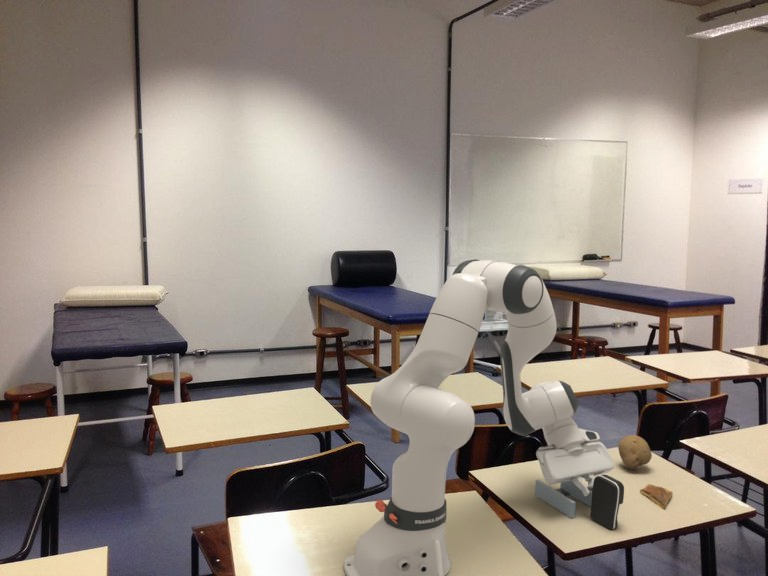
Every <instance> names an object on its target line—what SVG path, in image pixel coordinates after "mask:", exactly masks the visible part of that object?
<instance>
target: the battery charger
mask: <svg viewBox="0 0 768 576" xmlns="http://www.w3.org/2000/svg"><path fill="white" fill-rule="evenodd" d="M594 477H595V479H594V482H593V489H592V501H591V507H590V513H589V514H590V515H589V518H590V519H592V520H594V522H597V523H599V524H600V525H602V526H604V527H605V528H608V529H609V530H615V529H616V528H618V527H619V523H618V515H619V510H620V509H619V508H620V505H622V504H623V503H624V497H625V496H624V495H625V486H624V483H623V482H622V481H620V480H618V479H617V478H615V477H613V476H609V475H607V474H600V475H595V476H594Z"/></svg>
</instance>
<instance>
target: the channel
mask: <svg viewBox="0 0 768 576" xmlns="http://www.w3.org/2000/svg"><path fill="white" fill-rule="evenodd" d="M534 485H535V486H534V487H535V488H534V496H536V497H538V498H539V499H540V498H541V500H542V501H544V502H545V501H546V502H545V503H547V504H548V503H549V505H550V506H551V505H552V506H551V507H552V508H554V507H555V508H554V509H556V508H557V509H556V510H557V511H559V510H560V513H562V512H563V513H562V514H563V515H565V514H566V515H565V516H567V515H568V516H569V517H568V516H567V517H568V518H570V517H571V518H570V519H575V518H576V503H577V502H576V501H574V500H573V499H571V498H570V497H568V496H571V497H573V498H574V497H575V498H574V499H576V498H577V499H576V500H578V501H579V500H580V501H579V502H581V501H582V502H581V503H583V504H584V503H585V505H586V504H587V505H586V506H587V507H589V506H590V508H591V501H592V495H589V496H584V494H583V492H582V490H580V489H579V488H578V487H577V486H576V485H575V484H574V482H573V480H571V481H567V482H562V483H560V487H558V488H553V487H551V485H549V484H547V483H546V482H545V483H544V481H541V480H539V479H536V480H535V484H534ZM567 495H568V496H567Z"/></svg>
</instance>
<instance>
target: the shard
mask: <svg viewBox="0 0 768 576" xmlns="http://www.w3.org/2000/svg"><path fill="white" fill-rule="evenodd" d="M639 493H640V494H642V495H644V496H645V497H647V498H648V499H649V500H650V501H651V502H653V503H654V504H655V505H657V506H658V507H660V508H661V509H663V510H665V508H666V507H667V503H668V502H669V501H670V498H671V497H672V496H673V491H672V490H669V489H668V488H665V487H662V486H658V485H653V484H651V483H650V484H649V483H647V484H646V485H645V486H644V487H643V488H642V489H639Z"/></svg>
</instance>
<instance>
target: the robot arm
mask: <svg viewBox="0 0 768 576" xmlns="http://www.w3.org/2000/svg"><path fill="white" fill-rule="evenodd" d="M434 300H435V301H434V302H433V304H432V306H431V309H430V311H429V313H428V317H427V319H426V321H425V324H424V326H423V329H422V331H421V333H420V336H419V337H418V340H417V343H416V345H415V347H414V348H413V350H412V352H411V353H410V354H409V356H408V357H407V358H406V360H405V361H404V362H403V363H402V365H401V366H400V367H399V368H398V369H396V371H394V372H393V373H392V374H391V375H388V376H385V378H382V379H381V380H379V381H378V382H377V383H376V385H375V386H374V388H373V389H372V393H371V394H370V408H371V411H372V413H373V415H375V417H376V418H377V419H379V420H380V421H381V422H382V423H384V424H385V425H386V426H388V427H389V428H391V429H393V430H396V431H398V432H400V433H403V434H406V435H407V436H408V440H409V445H408V449H407V452H404V453H402V454H401V455H399V456H398V457H397V458H396V459H395V461H394V463H393V464H392V480H391V481H392V482H391V496H390V498H389V501H388V503H385V502H384V501H383V500H382V499H377V500H376V501H375V502H374V503H375V504H374V506H375V508H376V510H378V512H380V513H383V516H382V517H381V518H380V519H379V520H378V521H377V522H375V523H374V524H373V525H372V526H371V527H370V528H369V529H367V530H366V531H365V532H364V533H363V534H361V535H360V536H359V538H358V539H357V542H356V546H355V551H354V553H353V554H350V555H348V556H347V557H345V559H344V563H343V571H344V574H345V575H346V576H446V575H447V574H448V573H449V571H450V569H451V561H450V557H449V553H448V547H447V540H446V528H445V527H446V526H445V525H446V520H447V500H446V497H445V496H446V477H447V471H448V465H449V462H450V459H451V457H452V456H453V454H454V452H455V451H456V450H457V449H460V448H461V447H463V446H464V445H465V444H467V442H469V440H470V439H471V437H472V435H473V433H474V430H475V427H476V426H475V424H476V418H475V417H476V416H475V412H474V409H473V408H472V406H471V404H470V403H468V402H466V401H465V400H463V399H462V398H461V397H459V396H458V395H456V394H454V393H453V392H451V391H450V392H449V391H446V390H444V389H440V386H441V385H442V383H444V381H446V379H447V378H448V377H450V376H451V375H453V374H455V373H459V372H460V371H462V370H464V368H465V367H466V366H467V364H468V361H469V358H470V357H471V354H472V350H473V348H474V346H475V343H476V340H477V338H478V336H479V332H480V329H481V327H482V322H483V321H484V320H483V319H484V316H485V312H486V311H491V312H498V313H505V317H506V320H507V321H506V322H507V334H506V336H505V339H504V340H503V342H502V343H501V344H500V347H499V348H500V350H499V355H500V356H499V358H500V359H499V360H500V361H499V362H500V374H501V383H502V385H501V386H502V394H503V395H502V396H503V400H502V407H503V410H502V411H503V412H502V413H503V418H504V421H505V424H506V425H507V427H508V428H509V431H511V433H514V434H516V435H519V436H522V437H526V436H527V435H530V434H532V433H534V432H536V431H537V430H540V429H542V432H543V437H544V440H545V442H546V444H547V445H546V446H540V447H538V449H537V450H536V452H535V455H536V458H537V460H538V462H539V466H540V469H541V473H542V475H543V478H544V480H545V483H546V484H547V485H548V486H551V485H557V484H561V483H562V482H567V481H571V480H573V482H574V484H575V485H576V486H577V487H578V488H579V489H580V490H582V492H583V494H584V496H589V495H592V489H593V482H594V479H595V477H596V476H599V475H605V474H607V473H609V472H611V471H612V470H613V469H615V462H614V460H613V458H612V455H611V454H610V452H609V450H608V449H607V447H606V445H605V444H604V443H603V442H601V441H599V440H600V439H601V437H600V434H599V433H598V432H596V431H593V430H588V429H583V428H579V427H578V424H577V423H576V422H575V421H574V419H573V418H572V417H574V416H575V415H576V412H577V410H578V409H579V406H580V403H579V400H578V397H577V396H576V395H575V392H574V390H573V388H572V387H571V385H570V384H569V383H567V382H565V381H562V380H554V381H542V382H539V383H537V384H535V385H533V386H532V387H531V388H530V389H529V390H527V391H525V392H522V391H523V390H522V381H521V373H522V370H523V369H524V367H526V365H527V364H528V363H529V362H530V361H531V360H532V359H534V358H535V357H536V356H537V355H539V354H540V353H541V352H543V351H545V350H546V349H547V348H548V347H549V345H551V343H552V342H553V340H554V339H555V336H556V334H557V329H558V328H557V319H556V313H555V310H554V306H553V303H552V300H551V297H550V294H549V292H548V290H547V287H546V284H545V282H544V280H543V279H542V277H541V275H540V274H539V272H537V270H535V269H534V268H531V267H529V266H527V265H524V264H514V263H510V262H505V261H501V260H494V259H493V260H490V259H484V260H483V259H476V258H475V259H469V260H465V261H462V262H461V263H459V264H458V265H457V267H455V268H454V271H453V272H452V275H450V276H449V277H448V278H447V279H446V281H445V283H444V284H443V286H442V287H441V289H440V291H439V292H438V294H437V296H436V298H435V299H434ZM583 480H584V481H585V482H587V485H586V483H584V482H583Z"/></svg>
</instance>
